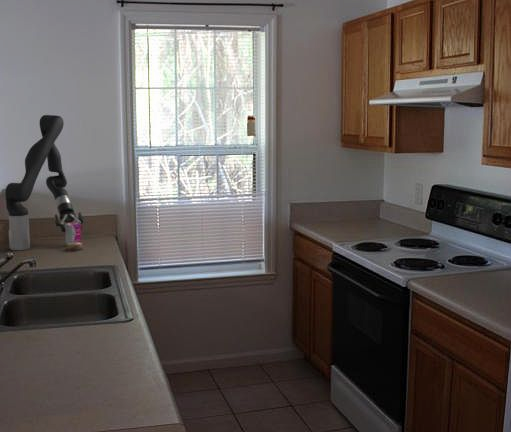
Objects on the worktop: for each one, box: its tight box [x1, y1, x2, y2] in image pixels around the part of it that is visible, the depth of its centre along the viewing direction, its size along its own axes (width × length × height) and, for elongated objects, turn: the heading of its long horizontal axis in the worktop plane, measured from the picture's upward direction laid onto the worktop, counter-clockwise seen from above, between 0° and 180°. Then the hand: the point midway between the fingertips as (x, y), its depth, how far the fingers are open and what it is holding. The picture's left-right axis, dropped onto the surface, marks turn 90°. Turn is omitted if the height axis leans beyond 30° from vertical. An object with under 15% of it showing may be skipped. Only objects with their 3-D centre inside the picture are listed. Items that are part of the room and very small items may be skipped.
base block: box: [65, 241, 83, 252], centre depth 339 cm, size 8×8×3 cm
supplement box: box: [64, 222, 82, 244], centre depth 348 cm, size 6×6×12 cm
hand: (72, 230), depth 349 cm, fingers open, 8 cm apart
